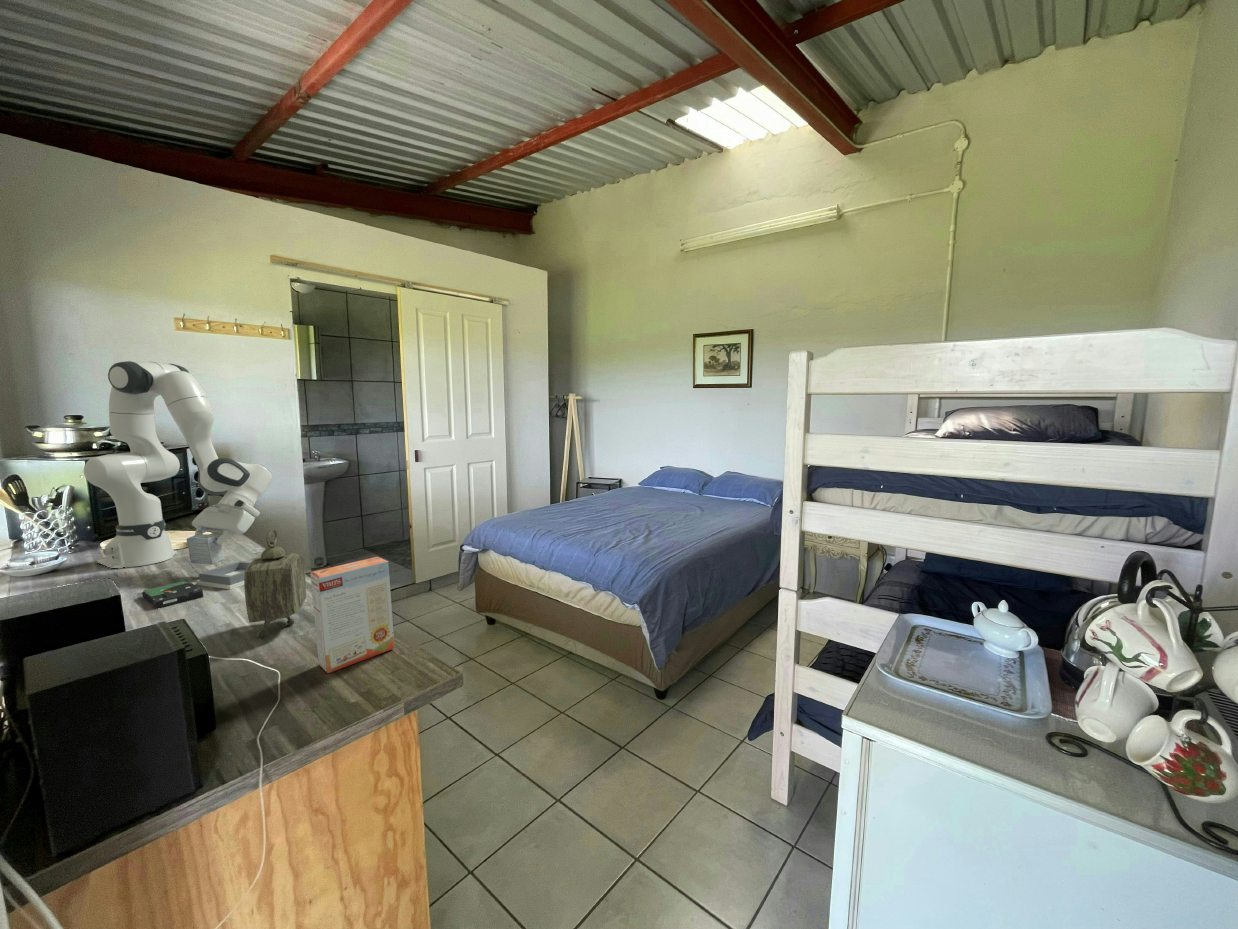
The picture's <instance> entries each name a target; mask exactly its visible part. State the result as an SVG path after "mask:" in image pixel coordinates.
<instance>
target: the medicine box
mask: <svg viewBox="0 0 1238 929" xmlns="http://www.w3.org/2000/svg"><path fill="white" fill-rule="evenodd" d="M194 535H195V534H194ZM194 535H192V536H189V537H186V543H187V544H186V545H187V550H188V554H189V560H190V564H196V565H197V564H198V565H199V564H200V565H202V564H203V565H205V564H207V565H214V564H217V563H220V562H221V561H224V560H225V555H224V551H223V543H222V544H221V545H219V544H216V543H214V540H215V539H216V538H217V537H220V536H221V535H220V534H210V533H209V534H207V533H203V534H198V535H195V536H194Z"/></svg>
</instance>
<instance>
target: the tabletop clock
mask: <svg viewBox="0 0 1238 929" xmlns="http://www.w3.org/2000/svg"><path fill="white" fill-rule="evenodd" d="M272 532H273V533H274V539H273V540H270V536H271V534H272ZM277 542H278V531H277V529H275V528H271V529H269V530H268V532H267V534H266V545H267V547H268V548H266V549H264V550H263V551H262V553H261V555H259V556H257V557H255V558H253V559H252V560H251V561H250V562H251V563H250V564H249V565H248V566H247V568H246V570H245V574H244V585H243V586H244V599H245V600H244V601H245V608H246V614H247V620H248V622H249V623H256V622H264V623H263V626H262V628H261V630H260V631H257V633H256V637H257V638H260V639H261V638H263V637H265V634H266V632H265V631H266V629H267V627H268V625H269V624H270V623H271V621H273V620H280V619H287V621H286V625H287V626H292V625H294V623H295V619H292V618H291V617H292V615H293V616H294V614H296V613H298V612H299V611H300V609H301V608H302V606H303V605H304V603H305V601H306V598H307V581H306V568H305V560H304V556H303V555H301V554H298V553H296V552H290V553H287V552H285V550H284V548H283V547H281V546H276V544H277Z"/></svg>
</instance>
